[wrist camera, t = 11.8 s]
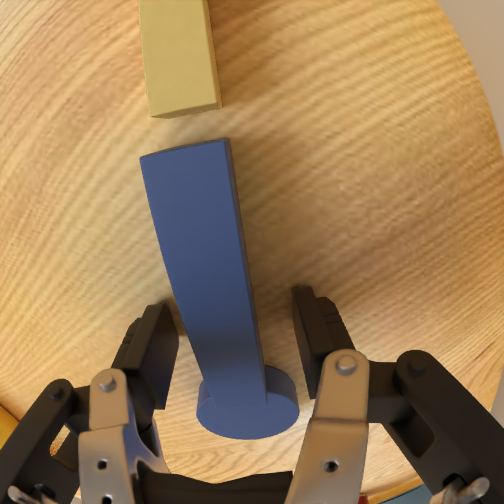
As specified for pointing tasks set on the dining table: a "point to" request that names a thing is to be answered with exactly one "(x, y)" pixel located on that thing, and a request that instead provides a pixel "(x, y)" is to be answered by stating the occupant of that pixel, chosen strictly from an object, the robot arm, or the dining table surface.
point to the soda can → (363, 499)
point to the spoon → (216, 289)
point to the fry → (178, 57)
